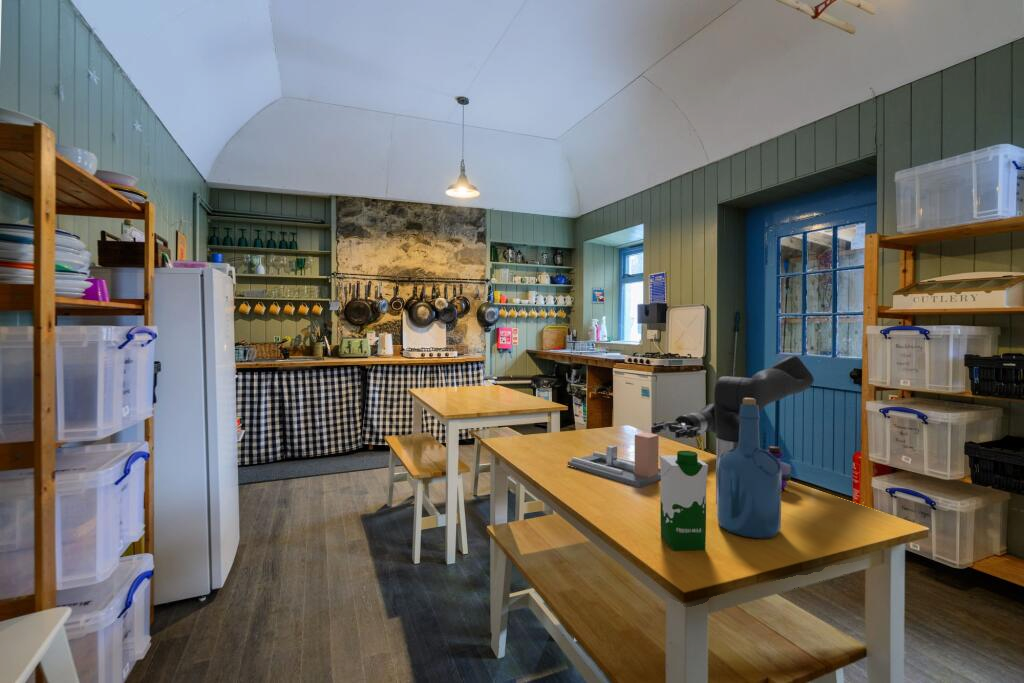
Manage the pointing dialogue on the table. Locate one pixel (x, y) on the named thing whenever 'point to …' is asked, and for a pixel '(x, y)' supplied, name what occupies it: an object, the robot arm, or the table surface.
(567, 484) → the table surface
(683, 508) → the milk carton
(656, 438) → the block
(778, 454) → the potion bottle
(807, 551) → the table surface
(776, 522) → the wine bottle
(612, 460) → the grey l-shaped rod
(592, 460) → the track
